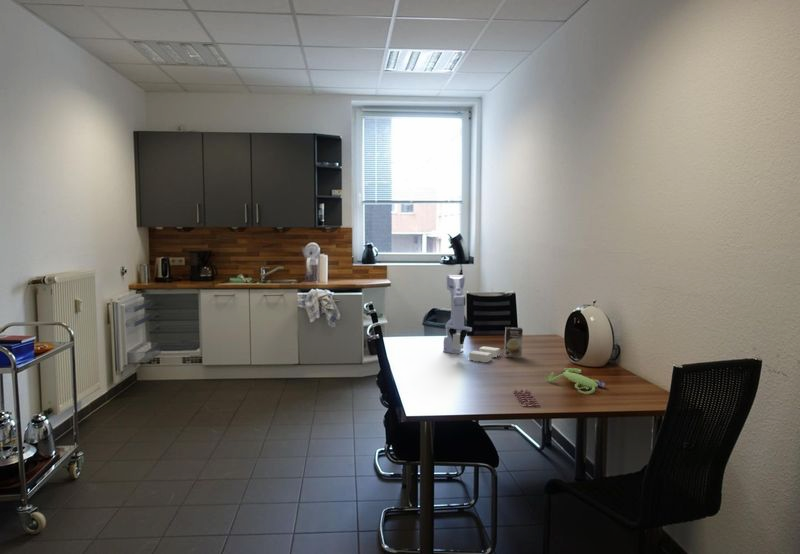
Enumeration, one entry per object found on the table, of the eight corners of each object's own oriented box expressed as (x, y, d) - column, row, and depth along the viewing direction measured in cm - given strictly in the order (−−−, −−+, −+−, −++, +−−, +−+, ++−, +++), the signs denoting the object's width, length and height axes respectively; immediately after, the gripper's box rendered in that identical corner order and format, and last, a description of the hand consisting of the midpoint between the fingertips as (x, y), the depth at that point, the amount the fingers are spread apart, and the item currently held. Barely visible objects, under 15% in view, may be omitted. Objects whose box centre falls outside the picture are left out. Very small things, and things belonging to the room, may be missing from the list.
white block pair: (469, 360, 296) (469, 352, 296) (483, 353, 313) (483, 346, 313) (487, 362, 291) (487, 355, 291) (499, 355, 309) (500, 348, 308)
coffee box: (504, 357, 303) (505, 328, 302) (503, 355, 310) (504, 326, 308) (521, 358, 302) (522, 329, 301) (520, 355, 309) (521, 327, 307)
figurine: (569, 376, 268) (570, 364, 268) (615, 390, 245) (615, 378, 244) (541, 380, 259) (541, 369, 259) (585, 396, 236) (586, 383, 235)
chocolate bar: (522, 408, 219) (522, 403, 219) (513, 394, 238) (513, 389, 238) (540, 408, 219) (540, 403, 219) (530, 394, 238) (530, 389, 238)
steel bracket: (452, 349, 293) (452, 334, 293) (456, 347, 298) (456, 332, 297) (459, 349, 291) (459, 334, 291) (463, 348, 296) (463, 333, 295)
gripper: (443, 317, 293) (442, 343, 294) (468, 320, 286) (467, 346, 287) (448, 316, 299) (448, 340, 301) (473, 318, 292) (473, 343, 293)
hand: (458, 343), depth 294 cm, fingers closed on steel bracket, 4 cm apart
